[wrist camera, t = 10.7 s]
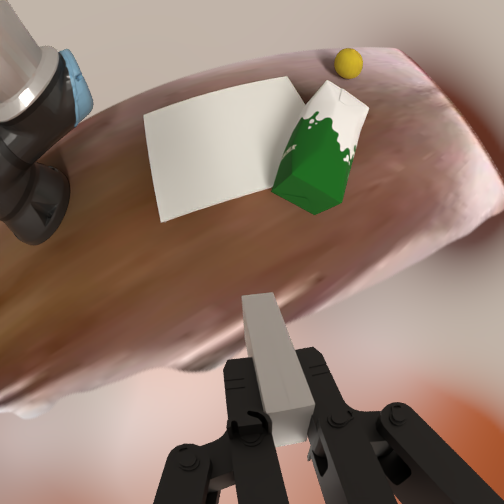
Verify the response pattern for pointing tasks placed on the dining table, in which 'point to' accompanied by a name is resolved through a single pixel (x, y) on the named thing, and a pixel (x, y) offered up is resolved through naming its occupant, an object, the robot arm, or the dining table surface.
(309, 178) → the soya milk
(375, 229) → the dining table surface
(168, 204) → the mat
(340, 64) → the lemon
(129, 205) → the dining table surface
